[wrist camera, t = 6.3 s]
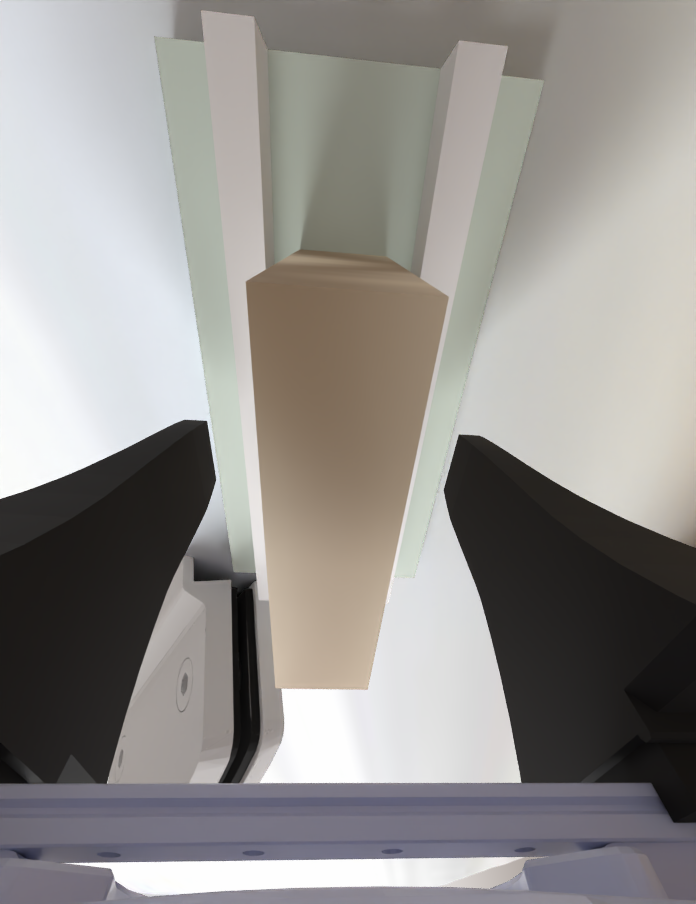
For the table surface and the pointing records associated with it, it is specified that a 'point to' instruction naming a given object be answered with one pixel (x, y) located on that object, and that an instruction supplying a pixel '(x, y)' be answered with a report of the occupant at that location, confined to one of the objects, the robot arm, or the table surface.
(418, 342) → the door panel
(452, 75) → the track board
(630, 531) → the robot arm
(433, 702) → the table surface
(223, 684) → the hinge
